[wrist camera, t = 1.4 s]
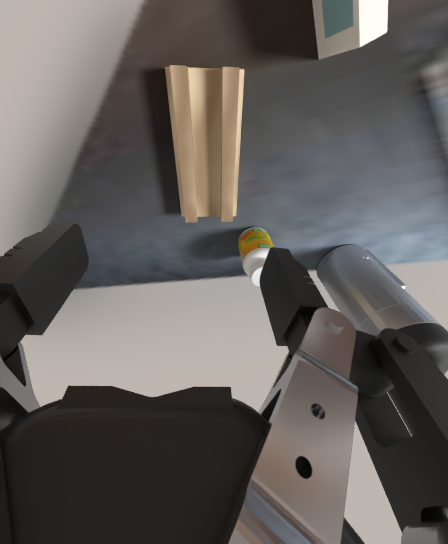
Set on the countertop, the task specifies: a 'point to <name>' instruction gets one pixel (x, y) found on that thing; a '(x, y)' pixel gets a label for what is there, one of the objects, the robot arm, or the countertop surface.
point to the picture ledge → (206, 138)
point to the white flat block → (347, 24)
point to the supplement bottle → (254, 252)
